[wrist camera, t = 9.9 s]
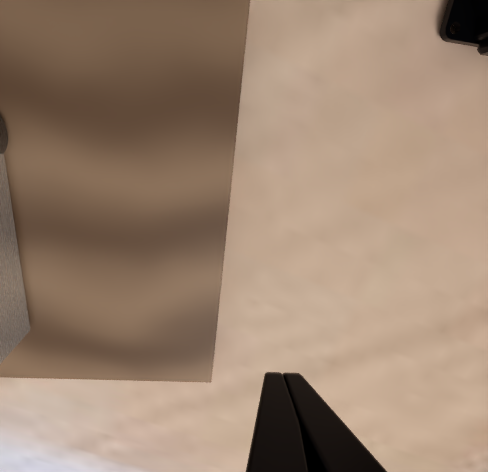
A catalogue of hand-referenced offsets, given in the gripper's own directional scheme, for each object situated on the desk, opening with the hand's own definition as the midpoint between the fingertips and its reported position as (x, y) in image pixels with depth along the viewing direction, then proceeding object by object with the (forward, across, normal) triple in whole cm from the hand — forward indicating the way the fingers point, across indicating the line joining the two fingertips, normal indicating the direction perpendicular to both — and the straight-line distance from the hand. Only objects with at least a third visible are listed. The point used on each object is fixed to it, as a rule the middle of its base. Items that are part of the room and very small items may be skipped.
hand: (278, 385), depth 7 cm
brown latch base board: (+12, +10, 0) cm, 16 cm away
